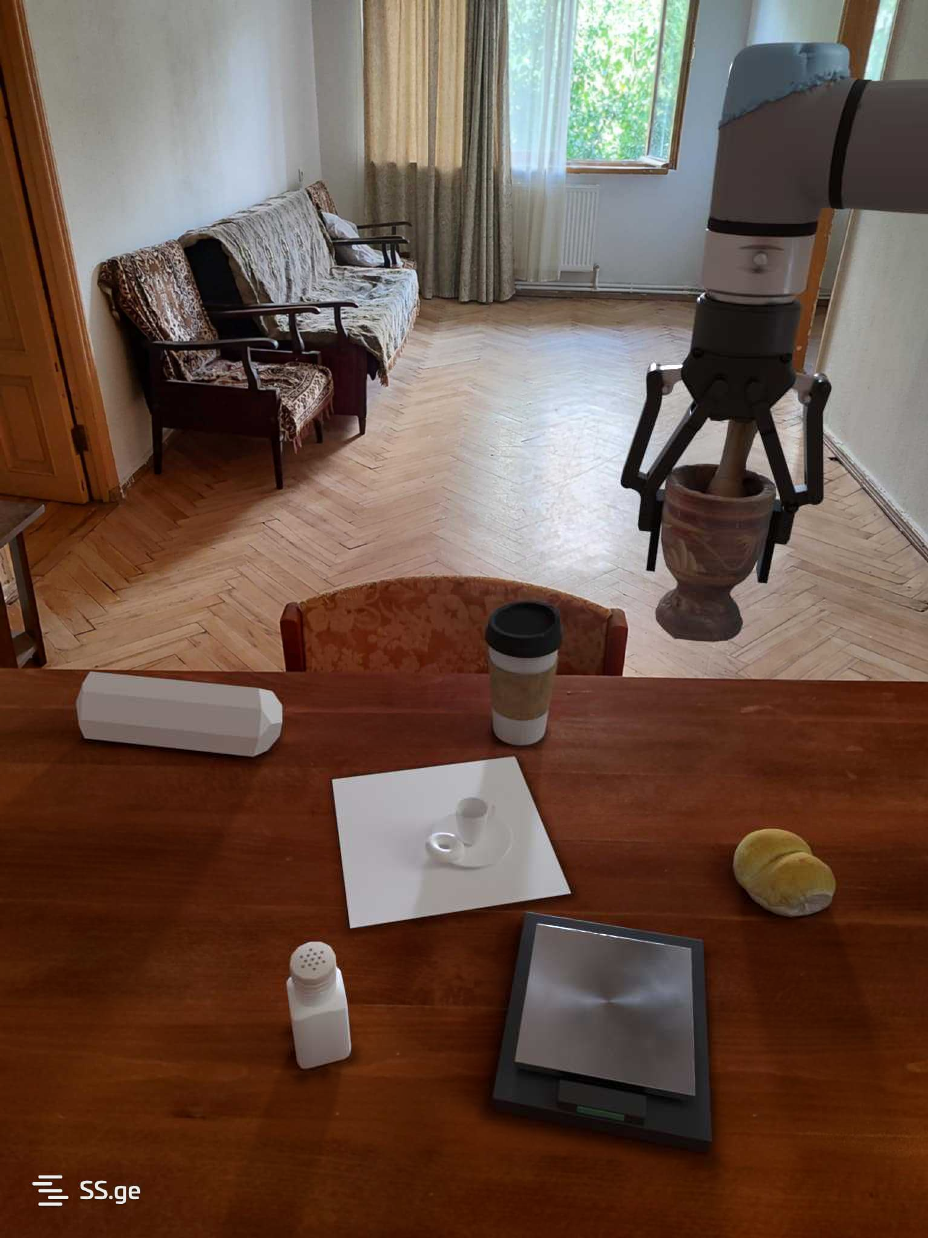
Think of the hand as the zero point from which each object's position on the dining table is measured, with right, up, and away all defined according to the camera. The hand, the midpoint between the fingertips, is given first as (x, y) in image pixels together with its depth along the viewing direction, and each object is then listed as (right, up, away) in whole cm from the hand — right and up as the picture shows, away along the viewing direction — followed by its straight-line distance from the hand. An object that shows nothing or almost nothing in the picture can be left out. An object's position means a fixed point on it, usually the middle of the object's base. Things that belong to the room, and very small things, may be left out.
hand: (705, 570), depth 76 cm
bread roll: (+8, -29, +5) cm, 30 cm away
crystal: (-53, -17, +24) cm, 61 cm away
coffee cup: (-14, -17, +25) cm, 34 cm away
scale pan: (-10, -34, -8) cm, 36 cm away
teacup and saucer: (-23, -25, +11) cm, 36 cm away
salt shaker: (-32, -37, -9) cm, 49 cm away
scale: (-10, -36, -7) cm, 38 cm away
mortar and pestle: (0, -4, +2) cm, 5 cm away
